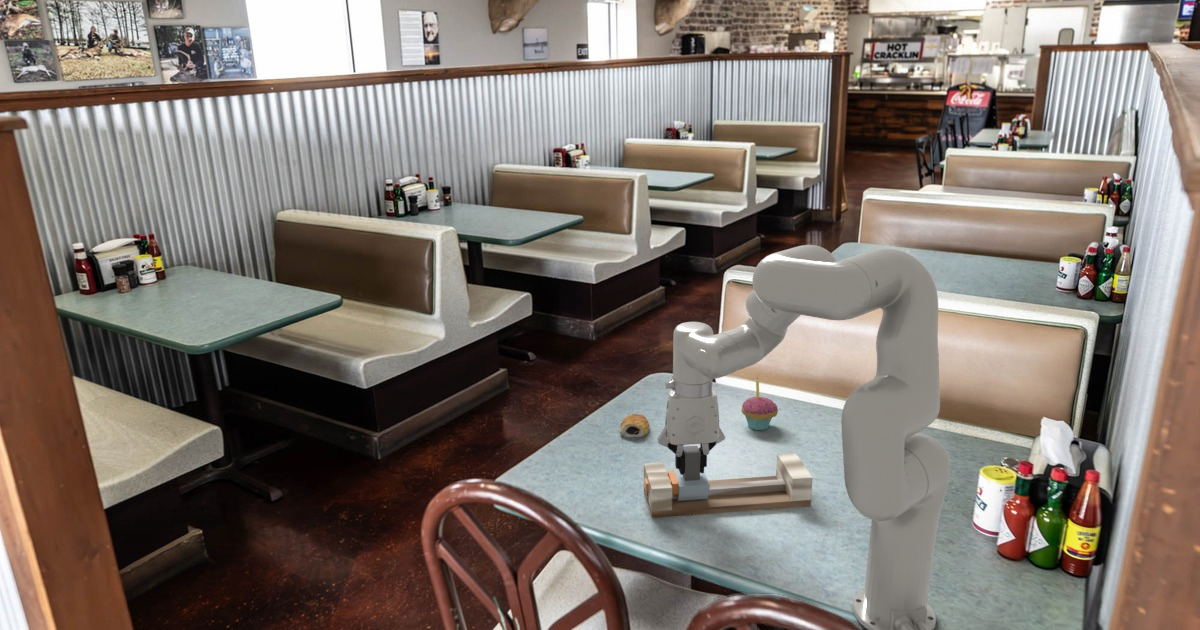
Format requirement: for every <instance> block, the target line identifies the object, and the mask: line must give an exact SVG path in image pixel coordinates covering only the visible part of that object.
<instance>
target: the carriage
mask: <svg viewBox="0 0 1200 630" xmlns="http://www.w3.org/2000/svg"><path fill="white" fill-rule="evenodd" d="M698 448H699V446H698V445H686V446H685V445H684V446H683V455H684V457H685V470H684V474H683V475H681V474H680V471H679V469H676V468H673V469H672V471H674V473H675V476H676V478H677V481H678V494H677V499H678V501H681V500H695V499H708V495H709V487H710V484H709V482H708V481H709V480H708V478H707V476H706V473H705V472H704V473H700V451H699V449H698Z"/></svg>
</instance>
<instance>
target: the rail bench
mask: <svg viewBox="0 0 1200 630" xmlns="http://www.w3.org/2000/svg"><path fill="white" fill-rule="evenodd" d="M775 469H776V470H775V471H776V472H775V473H776V474H775V475H770V476H756V477H755V476H754V477H745V478H744V477H743V478H742V477H741V478H727V479H726V478H725V479H714V480H708V482H709V484H710V487H709V495H708V499H695V500H681V501H678V499H677V494H674V495H672V486H671V483H670V480H669V477H668V471H667V469H666V466H665V464H664V462H651V463H650V462H649V463H648V462H647V463H643V493H644V497H645V500H646V503H647V507H648V510H649V515H650V517H651V519H657V518H659V519H661V518H670V517H671V518H673V517H685V516H686V517H687V516H700V515H711V514H712V515H713V514H725V513H726V514H727V513H740V512H742V513H743V512H751V511H752V512H753V511H765V510H780V509H794V508H806V507H811V504H812V492H813V481H814V480H813V479H814V477H813V476H812V474H811V473H810V471H809V470H808V469H807V467H806V466H805V464H804V463H803V461H802V460H801V458H800V457H799V455H798V454H797V453H796V452H795V453H783V454H779V453H778V454H776V468H775ZM645 478H647V479H648V482H649V491H646V489H645Z"/></svg>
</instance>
